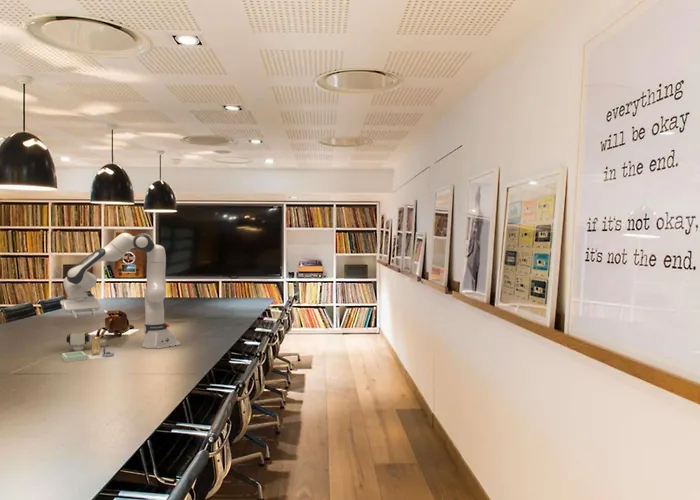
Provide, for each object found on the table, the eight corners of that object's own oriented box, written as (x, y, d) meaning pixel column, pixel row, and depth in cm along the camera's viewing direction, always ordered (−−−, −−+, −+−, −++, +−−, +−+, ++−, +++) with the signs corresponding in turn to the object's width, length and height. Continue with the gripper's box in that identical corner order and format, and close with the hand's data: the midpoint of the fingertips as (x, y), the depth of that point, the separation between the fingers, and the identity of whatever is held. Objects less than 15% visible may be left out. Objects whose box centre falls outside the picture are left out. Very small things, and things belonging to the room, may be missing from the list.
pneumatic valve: (88, 352, 288) (88, 331, 288) (66, 352, 284) (66, 332, 284) (90, 350, 293) (90, 330, 293) (68, 350, 290) (68, 330, 289)
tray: (82, 357, 275) (82, 351, 275) (86, 361, 265) (86, 355, 265) (61, 359, 269) (61, 353, 268) (65, 364, 259) (65, 357, 259)
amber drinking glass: (99, 353, 280) (99, 336, 280) (100, 354, 277) (101, 337, 277) (90, 354, 278) (90, 336, 277) (92, 355, 274) (92, 338, 274)
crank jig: (110, 353, 284) (111, 341, 284) (116, 357, 275) (116, 345, 275) (86, 356, 276) (86, 343, 276) (90, 360, 267) (90, 347, 267)
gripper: (60, 296, 280) (68, 315, 275) (96, 294, 297) (104, 311, 291) (57, 303, 283) (64, 322, 277) (92, 300, 299) (100, 318, 294)
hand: (85, 316), depth 284 cm, fingers open, 8 cm apart
